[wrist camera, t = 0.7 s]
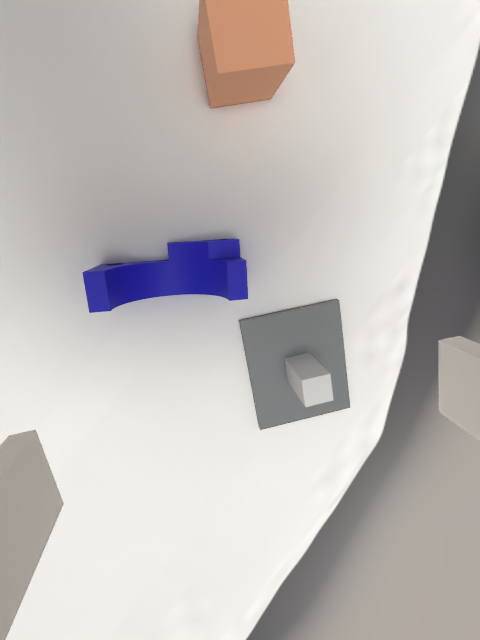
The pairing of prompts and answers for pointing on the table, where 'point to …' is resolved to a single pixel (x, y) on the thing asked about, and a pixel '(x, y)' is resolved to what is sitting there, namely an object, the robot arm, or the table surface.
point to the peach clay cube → (244, 49)
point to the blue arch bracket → (171, 275)
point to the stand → (296, 363)
